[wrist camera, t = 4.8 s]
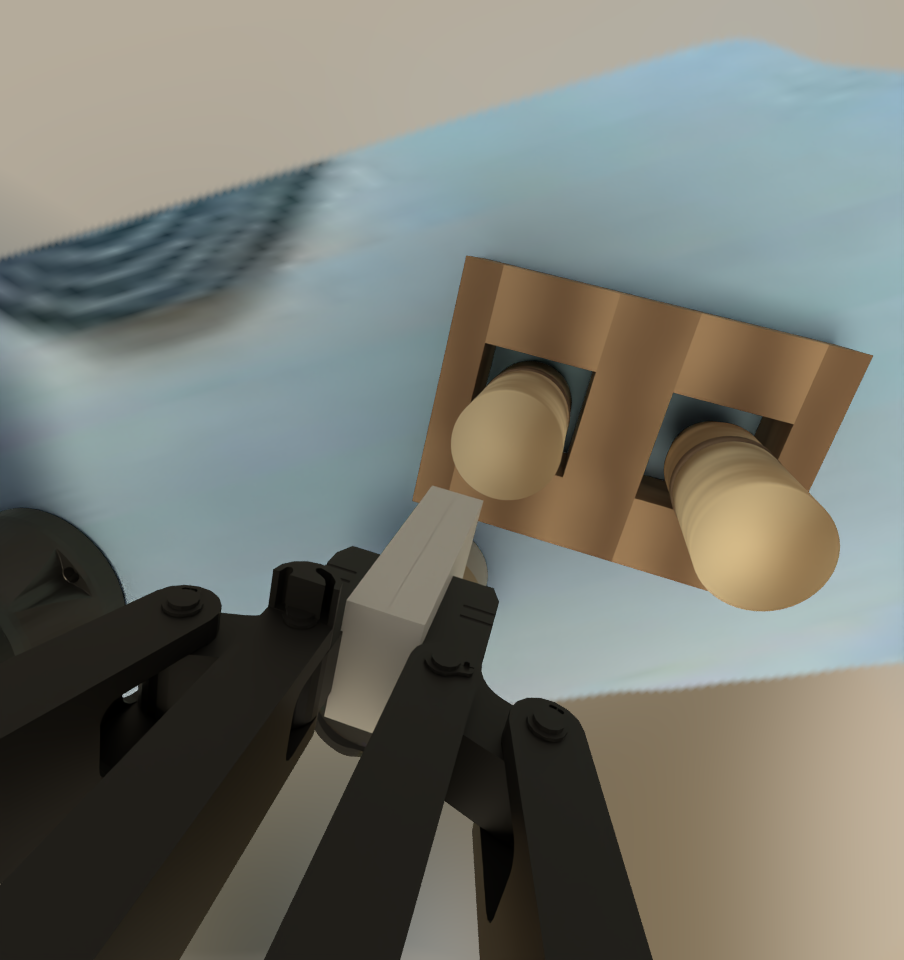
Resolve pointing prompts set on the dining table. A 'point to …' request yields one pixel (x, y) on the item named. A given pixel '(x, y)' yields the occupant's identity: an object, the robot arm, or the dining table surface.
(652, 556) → the board
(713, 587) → the peg
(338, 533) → the dining table surface
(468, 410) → the peg
